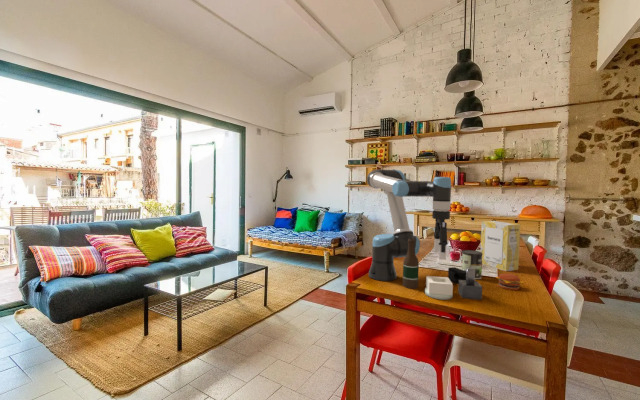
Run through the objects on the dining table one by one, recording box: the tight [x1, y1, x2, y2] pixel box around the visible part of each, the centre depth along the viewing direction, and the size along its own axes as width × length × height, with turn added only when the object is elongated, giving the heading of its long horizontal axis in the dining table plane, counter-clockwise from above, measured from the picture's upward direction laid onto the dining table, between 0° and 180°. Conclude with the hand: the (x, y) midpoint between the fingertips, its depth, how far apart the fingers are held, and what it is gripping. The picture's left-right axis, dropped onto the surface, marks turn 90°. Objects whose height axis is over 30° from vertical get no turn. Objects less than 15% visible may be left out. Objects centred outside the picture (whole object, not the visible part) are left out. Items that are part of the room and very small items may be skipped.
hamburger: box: [495, 273, 524, 291], centre depth 150 cm, size 9×10×7 cm
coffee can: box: [461, 249, 483, 280], centre depth 166 cm, size 10×10×14 cm
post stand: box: [457, 267, 483, 301], centre depth 137 cm, size 8×8×13 cm
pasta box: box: [480, 220, 521, 272], centre depth 187 cm, size 18×10×28 cm, turn 20°
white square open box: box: [425, 275, 454, 295], centre depth 138 cm, size 10×10×5 cm
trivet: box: [424, 287, 454, 301], centre depth 138 cm, size 12×12×2 cm
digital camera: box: [447, 266, 466, 286], centre depth 155 cm, size 10×5×7 cm, turn 18°
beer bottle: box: [402, 239, 420, 289], centre depth 149 cm, size 8×8×24 cm
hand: (439, 255), depth 137 cm, fingers open, 13 cm apart
